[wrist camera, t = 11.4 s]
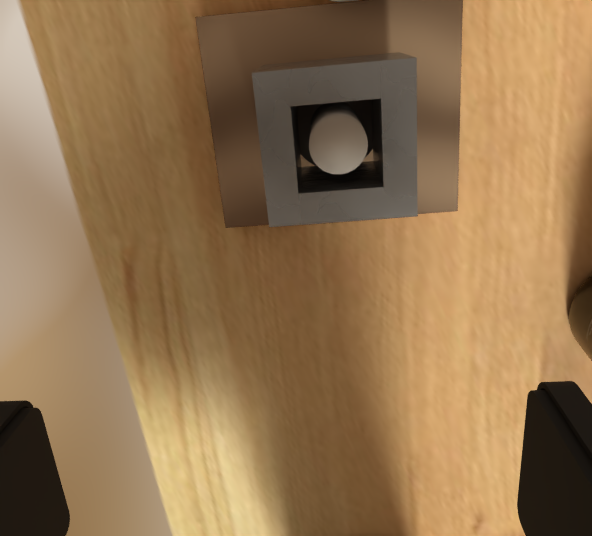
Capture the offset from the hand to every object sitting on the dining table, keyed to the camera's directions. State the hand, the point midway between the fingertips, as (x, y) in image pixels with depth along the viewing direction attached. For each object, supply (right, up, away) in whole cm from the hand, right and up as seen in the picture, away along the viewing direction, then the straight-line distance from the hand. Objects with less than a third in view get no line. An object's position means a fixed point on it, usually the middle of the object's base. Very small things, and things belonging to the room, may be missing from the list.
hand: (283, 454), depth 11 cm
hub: (+2, +10, +17) cm, 20 cm away
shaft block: (+2, +12, +20) cm, 23 cm away
